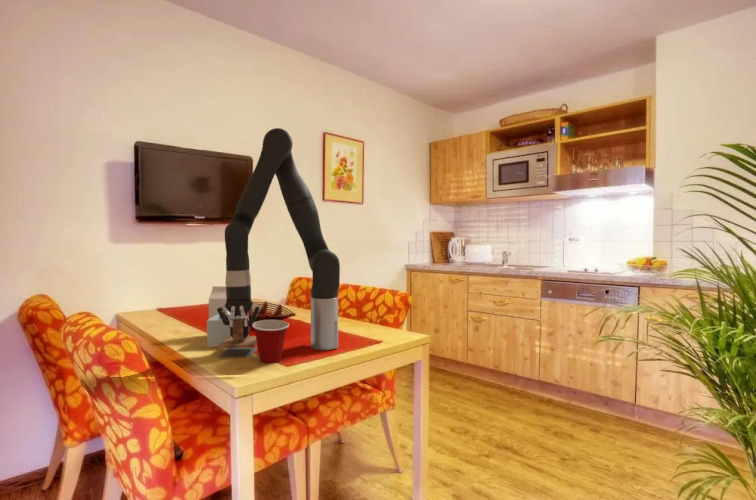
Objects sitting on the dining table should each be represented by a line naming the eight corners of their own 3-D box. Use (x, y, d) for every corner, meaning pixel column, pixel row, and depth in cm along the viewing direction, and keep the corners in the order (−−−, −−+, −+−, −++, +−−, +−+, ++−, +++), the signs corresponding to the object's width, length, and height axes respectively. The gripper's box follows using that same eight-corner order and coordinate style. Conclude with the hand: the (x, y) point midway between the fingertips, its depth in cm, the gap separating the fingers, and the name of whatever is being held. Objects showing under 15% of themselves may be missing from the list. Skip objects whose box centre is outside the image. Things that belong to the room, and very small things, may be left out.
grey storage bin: (248, 339, 146) (248, 313, 145) (240, 347, 135) (240, 320, 134) (217, 339, 145) (217, 313, 145) (207, 348, 134) (206, 320, 134)
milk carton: (228, 338, 146) (227, 287, 145) (209, 338, 146) (208, 287, 146) (235, 334, 153) (234, 285, 153) (217, 334, 153) (216, 285, 153)
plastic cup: (265, 371, 112) (265, 328, 111) (245, 363, 119) (244, 323, 118) (296, 361, 120) (296, 322, 120) (275, 354, 127) (275, 317, 127)
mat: (258, 349, 133) (258, 347, 133) (250, 358, 123) (250, 356, 123) (227, 349, 132) (227, 348, 132) (217, 359, 122) (217, 357, 122)
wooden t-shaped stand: (261, 338, 133) (260, 315, 133) (253, 347, 122) (252, 322, 122) (228, 339, 133) (227, 316, 132) (217, 348, 122) (216, 323, 121)
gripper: (263, 282, 131) (264, 333, 132) (219, 283, 130) (221, 335, 131) (258, 285, 123) (259, 339, 124) (211, 286, 122) (213, 341, 123)
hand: (239, 337), depth 127 cm, fingers closed on wooden t-shaped stand, 3 cm apart
